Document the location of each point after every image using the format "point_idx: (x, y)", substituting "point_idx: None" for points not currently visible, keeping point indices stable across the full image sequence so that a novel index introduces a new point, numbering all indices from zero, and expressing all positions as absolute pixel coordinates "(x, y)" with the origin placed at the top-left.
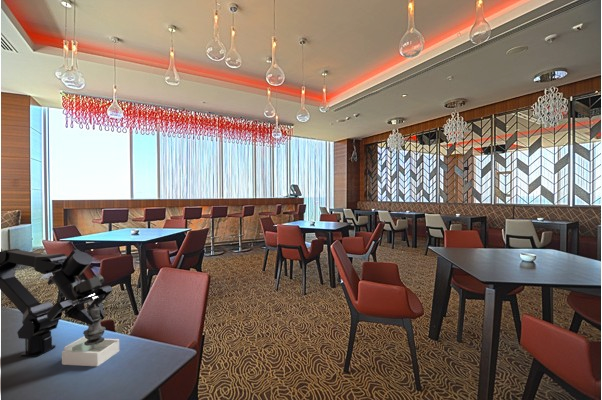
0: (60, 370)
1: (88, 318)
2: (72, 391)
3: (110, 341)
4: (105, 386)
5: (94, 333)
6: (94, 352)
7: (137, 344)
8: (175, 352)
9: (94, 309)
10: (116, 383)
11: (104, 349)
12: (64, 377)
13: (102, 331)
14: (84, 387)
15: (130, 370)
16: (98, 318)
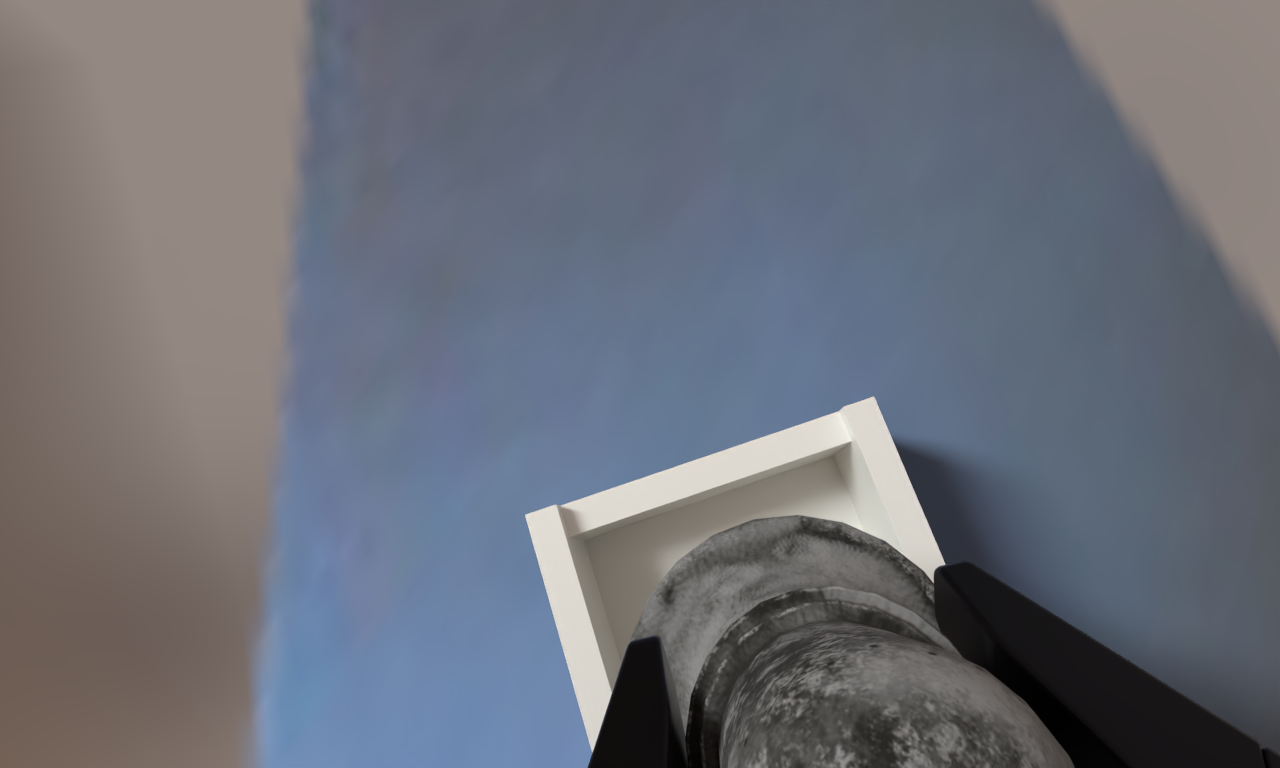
0: None
1: (1109, 649)
2: (1155, 223)
3: (589, 604)
4: (973, 63)
5: (879, 542)
6: (883, 447)
7: (379, 477)
8: (385, 14)
9: (1004, 704)
10: (907, 28)
11: (754, 456)
12: (1110, 527)
13: (745, 525)
14: (1073, 193)
15: (742, 95)
16: (812, 610)
